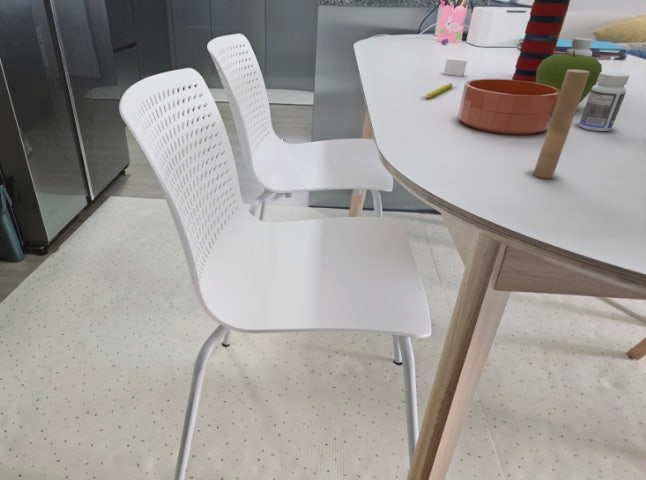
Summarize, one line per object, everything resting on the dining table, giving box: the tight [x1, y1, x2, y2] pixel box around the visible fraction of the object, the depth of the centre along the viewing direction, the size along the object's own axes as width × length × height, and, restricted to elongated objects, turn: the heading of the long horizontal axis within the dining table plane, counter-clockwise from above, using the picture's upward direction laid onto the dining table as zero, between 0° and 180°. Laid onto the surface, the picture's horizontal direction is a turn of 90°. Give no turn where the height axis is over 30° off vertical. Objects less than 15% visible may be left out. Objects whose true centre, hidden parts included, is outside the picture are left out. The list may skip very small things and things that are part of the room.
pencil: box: [426, 82, 453, 100], centre depth 100 cm, size 16×1×1 cm, turn 146°
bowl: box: [457, 78, 560, 135], centre depth 77 cm, size 14×14×6 cm
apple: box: [536, 51, 603, 104], centre depth 87 cm, size 11×10×10 cm
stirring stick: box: [532, 69, 590, 179], centre depth 55 cm, size 2×2×12 cm
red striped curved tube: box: [511, 0, 571, 82], centre depth 104 cm, size 25×7×25 cm, turn 150°
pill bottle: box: [578, 71, 630, 132], centre depth 75 cm, size 5×5×8 cm
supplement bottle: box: [564, 37, 594, 57], centre depth 108 cm, size 5×5×10 cm
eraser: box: [443, 58, 468, 77], centre depth 119 cm, size 1×5×4 cm, turn 62°
